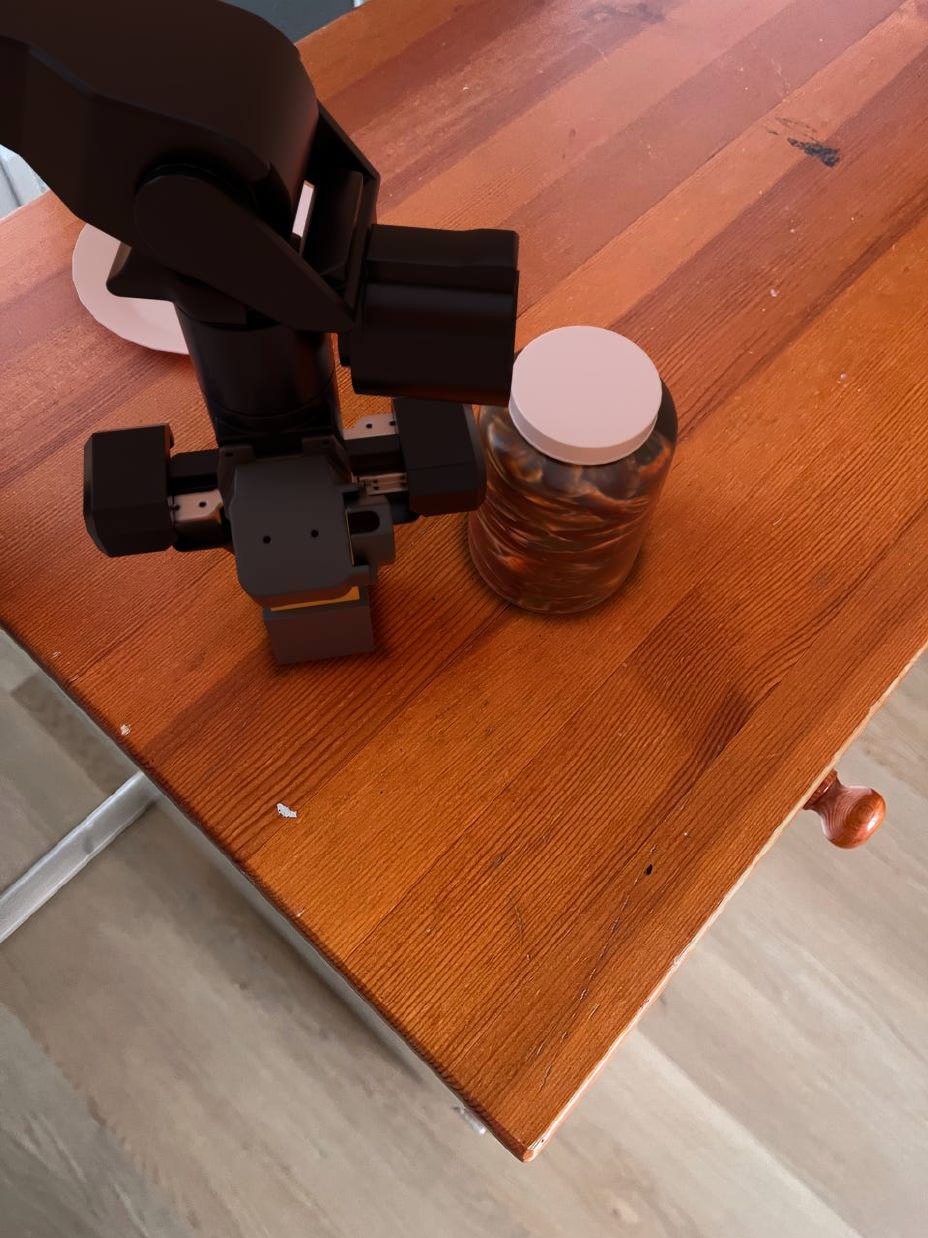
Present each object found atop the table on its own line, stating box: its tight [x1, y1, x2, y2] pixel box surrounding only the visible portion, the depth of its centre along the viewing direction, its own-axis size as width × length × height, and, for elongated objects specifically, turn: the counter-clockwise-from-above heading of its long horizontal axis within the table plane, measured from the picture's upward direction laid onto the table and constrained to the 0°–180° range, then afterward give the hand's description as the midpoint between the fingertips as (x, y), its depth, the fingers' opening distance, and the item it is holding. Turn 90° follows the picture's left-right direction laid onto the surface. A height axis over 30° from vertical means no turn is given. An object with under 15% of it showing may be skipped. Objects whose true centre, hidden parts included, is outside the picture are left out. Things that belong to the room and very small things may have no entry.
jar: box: [467, 325, 679, 615], centre depth 54 cm, size 12×12×15 cm
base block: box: [261, 585, 376, 666], centre depth 55 cm, size 6×6×6 cm
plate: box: [72, 183, 313, 356], centre depth 70 cm, size 21×21×2 cm
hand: (308, 559), depth 51 cm, fingers closed on top block, 5 cm apart
